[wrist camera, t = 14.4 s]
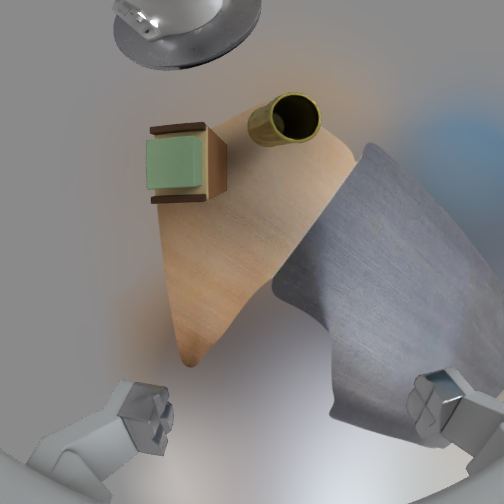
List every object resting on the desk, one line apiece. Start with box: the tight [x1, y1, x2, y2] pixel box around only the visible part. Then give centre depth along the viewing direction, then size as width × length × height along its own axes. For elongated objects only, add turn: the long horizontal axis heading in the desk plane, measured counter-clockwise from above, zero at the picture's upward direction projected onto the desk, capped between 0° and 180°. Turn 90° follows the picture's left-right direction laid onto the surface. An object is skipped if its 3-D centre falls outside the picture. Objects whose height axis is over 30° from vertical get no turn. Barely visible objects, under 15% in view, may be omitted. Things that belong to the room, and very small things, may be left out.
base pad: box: [150, 122, 227, 204], centre depth 31 cm, size 7×5×18 cm
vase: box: [248, 93, 321, 147], centre depth 31 cm, size 6×6×14 cm
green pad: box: [146, 136, 203, 189], centre depth 22 cm, size 4×4×3 cm
